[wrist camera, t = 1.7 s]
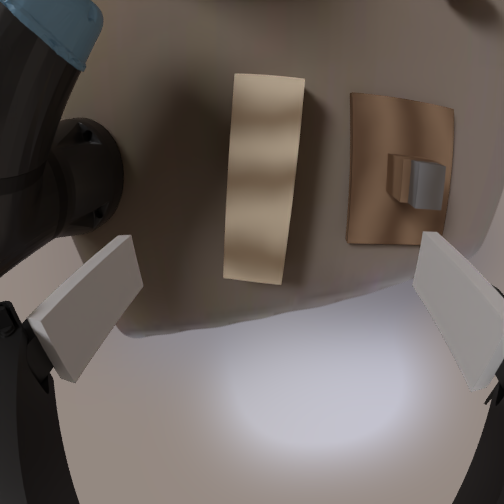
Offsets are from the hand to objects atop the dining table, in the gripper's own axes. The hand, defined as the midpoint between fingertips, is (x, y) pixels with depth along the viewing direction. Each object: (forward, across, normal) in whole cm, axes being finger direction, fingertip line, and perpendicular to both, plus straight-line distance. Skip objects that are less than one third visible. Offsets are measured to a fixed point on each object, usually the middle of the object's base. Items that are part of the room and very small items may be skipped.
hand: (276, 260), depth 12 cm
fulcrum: (+19, +13, +1) cm, 23 cm away
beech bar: (+20, -2, 0) cm, 20 cm away
